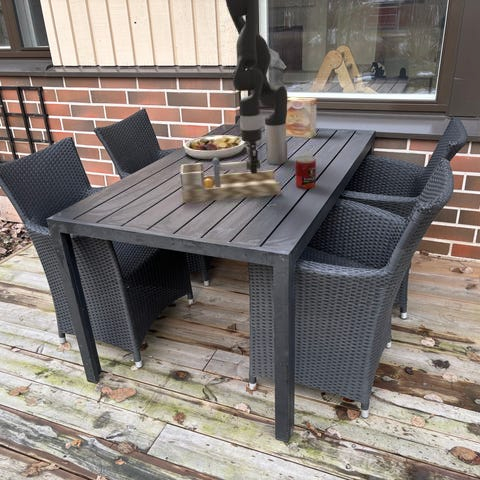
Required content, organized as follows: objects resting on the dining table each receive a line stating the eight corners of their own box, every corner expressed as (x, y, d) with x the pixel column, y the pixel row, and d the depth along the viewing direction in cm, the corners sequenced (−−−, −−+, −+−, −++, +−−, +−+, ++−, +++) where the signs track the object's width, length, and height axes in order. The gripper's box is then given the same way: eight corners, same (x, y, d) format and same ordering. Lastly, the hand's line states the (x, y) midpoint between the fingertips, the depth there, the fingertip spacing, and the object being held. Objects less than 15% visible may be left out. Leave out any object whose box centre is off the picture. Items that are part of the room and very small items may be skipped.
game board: (274, 180, 194) (273, 155, 189) (280, 194, 179) (279, 167, 175) (184, 188, 192) (181, 163, 187) (183, 202, 177) (180, 175, 173)
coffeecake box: (285, 136, 258) (284, 99, 250) (291, 133, 263) (291, 96, 255) (310, 138, 250) (310, 100, 242) (316, 135, 255) (316, 98, 247)
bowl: (189, 146, 253) (187, 131, 249) (245, 143, 251) (244, 128, 248) (181, 162, 226) (179, 146, 222) (244, 159, 224) (243, 143, 221)
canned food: (303, 190, 181) (303, 162, 176) (291, 185, 188) (291, 157, 183) (319, 186, 184) (320, 158, 180) (307, 181, 191) (307, 154, 186)
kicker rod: (261, 180, 187) (259, 152, 182) (262, 184, 183) (261, 156, 178) (214, 184, 186) (211, 156, 181) (214, 188, 182) (212, 160, 177)
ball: (211, 175, 184) (200, 179, 185) (211, 178, 180) (200, 183, 181) (215, 185, 186) (205, 189, 186) (215, 188, 182) (205, 193, 183)
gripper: (263, 130, 169) (265, 176, 177) (258, 121, 182) (260, 165, 189) (242, 132, 169) (245, 178, 176) (238, 123, 181) (241, 167, 189)
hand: (253, 171), depth 183 cm, fingers closed on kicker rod, 3 cm apart
